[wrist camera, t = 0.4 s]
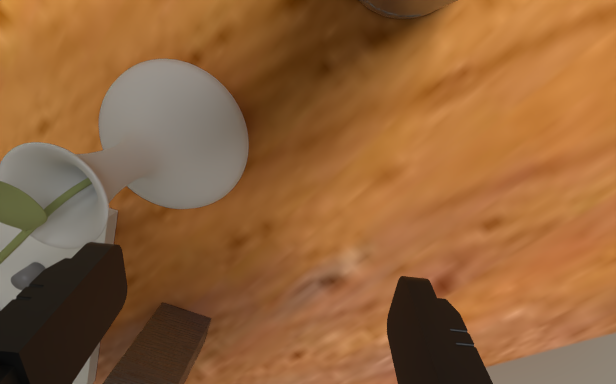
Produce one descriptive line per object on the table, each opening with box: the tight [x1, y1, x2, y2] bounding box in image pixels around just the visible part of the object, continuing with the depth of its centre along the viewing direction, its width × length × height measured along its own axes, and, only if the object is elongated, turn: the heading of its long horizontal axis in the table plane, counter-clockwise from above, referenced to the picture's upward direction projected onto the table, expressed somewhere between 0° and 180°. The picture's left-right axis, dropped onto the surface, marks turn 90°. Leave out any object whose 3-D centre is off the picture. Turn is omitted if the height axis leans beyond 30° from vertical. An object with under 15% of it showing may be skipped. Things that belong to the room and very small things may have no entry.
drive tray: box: [0, 208, 118, 384], centre depth 33 cm, size 22×16×4 cm
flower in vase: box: [0, 59, 249, 264], centre depth 17 cm, size 13×11×25 cm
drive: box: [103, 302, 211, 384], centre depth 30 cm, size 3×5×12 cm, turn 72°
